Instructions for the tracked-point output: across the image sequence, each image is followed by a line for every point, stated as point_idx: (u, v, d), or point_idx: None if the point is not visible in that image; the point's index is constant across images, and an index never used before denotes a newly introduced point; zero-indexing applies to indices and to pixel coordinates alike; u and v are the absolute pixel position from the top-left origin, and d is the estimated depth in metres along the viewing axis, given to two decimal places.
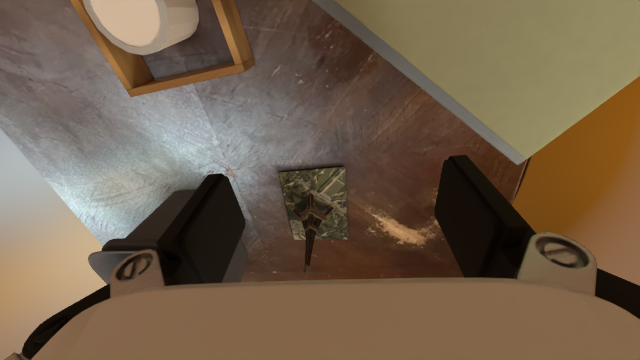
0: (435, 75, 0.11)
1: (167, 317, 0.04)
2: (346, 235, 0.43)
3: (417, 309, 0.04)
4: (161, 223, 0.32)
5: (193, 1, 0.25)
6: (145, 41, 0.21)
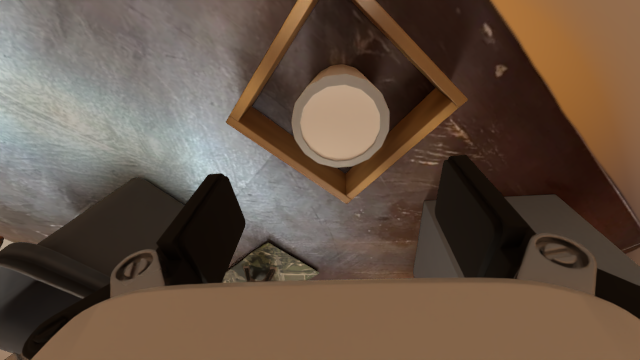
0: None
1: (167, 317, 0.04)
2: None
3: (417, 310, 0.04)
4: (116, 237, 0.23)
5: None
6: (320, 151, 0.18)
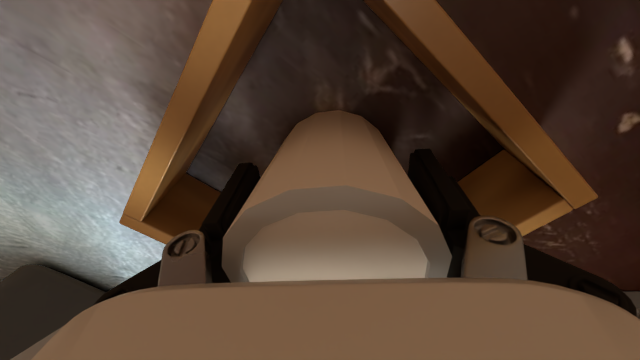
0: None
1: (167, 317, 0.04)
2: None
3: (418, 310, 0.04)
4: None
5: None
6: None
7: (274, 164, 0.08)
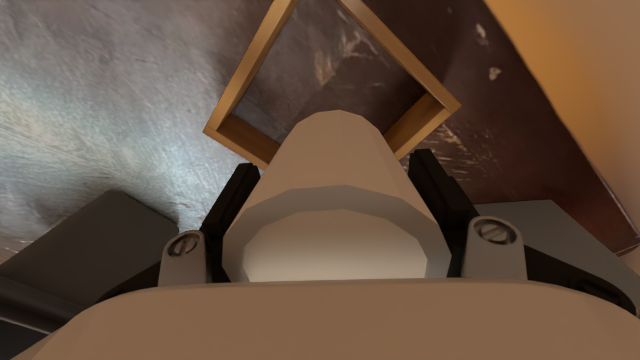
0: None
1: (167, 317, 0.04)
2: None
3: (418, 310, 0.04)
4: (85, 258, 0.21)
5: None
6: None
7: (274, 164, 0.08)
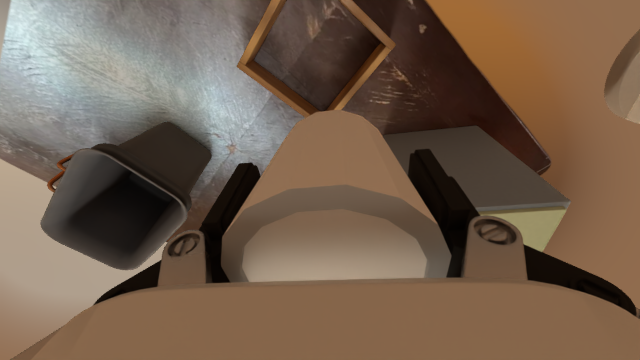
0: None
1: (167, 317, 0.04)
2: None
3: (418, 310, 0.04)
4: (158, 154, 0.33)
5: None
6: None
7: (273, 164, 0.08)
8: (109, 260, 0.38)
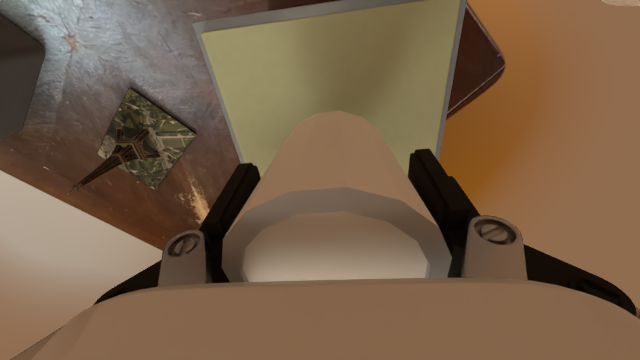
0: (238, 135, 0.16)
1: (167, 317, 0.04)
2: (154, 186, 0.42)
3: (417, 310, 0.04)
4: None
5: None
6: None
7: (274, 165, 0.08)
8: None
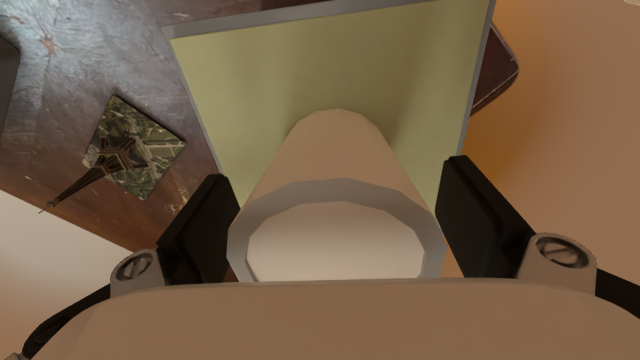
0: (220, 157, 0.14)
1: (167, 317, 0.04)
2: (143, 197, 0.40)
3: (417, 310, 0.04)
4: None
5: None
6: None
7: (277, 159, 0.08)
8: None
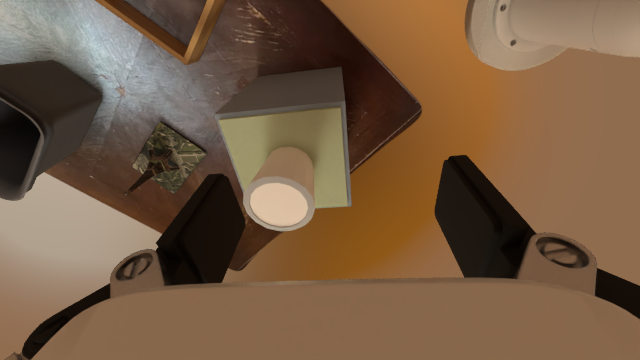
0: (237, 166, 0.29)
1: (167, 317, 0.04)
2: (174, 190, 0.55)
3: (417, 310, 0.04)
4: (25, 82, 0.35)
5: None
6: (267, 220, 0.25)
7: (260, 169, 0.24)
8: None
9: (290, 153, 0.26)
